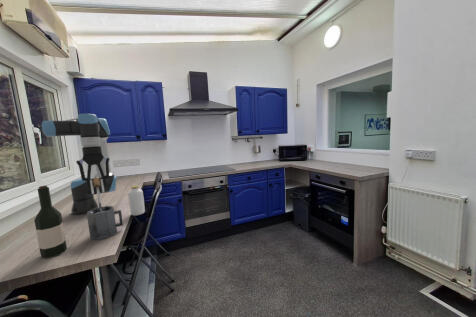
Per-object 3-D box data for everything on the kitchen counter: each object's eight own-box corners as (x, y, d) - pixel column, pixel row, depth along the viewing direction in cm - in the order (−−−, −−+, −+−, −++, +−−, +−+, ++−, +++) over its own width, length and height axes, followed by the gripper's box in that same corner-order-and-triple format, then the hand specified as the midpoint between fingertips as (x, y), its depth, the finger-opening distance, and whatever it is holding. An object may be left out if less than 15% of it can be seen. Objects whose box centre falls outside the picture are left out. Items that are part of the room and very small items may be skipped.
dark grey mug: (91, 233, 102) (87, 209, 100) (122, 225, 109) (119, 203, 108) (89, 242, 92) (85, 216, 91) (124, 233, 100) (120, 208, 98)
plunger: (93, 214, 100) (88, 178, 98) (109, 210, 104) (104, 176, 102) (92, 218, 94) (86, 180, 92) (109, 214, 98) (104, 177, 96)
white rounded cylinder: (139, 216, 122) (135, 188, 120) (127, 216, 123) (124, 188, 121) (147, 211, 130) (144, 185, 128) (137, 211, 131) (133, 185, 129)
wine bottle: (52, 248, 89) (41, 184, 86) (71, 246, 90) (61, 183, 86) (35, 259, 81) (22, 189, 77) (56, 257, 81) (44, 187, 78)
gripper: (68, 147, 87) (75, 198, 90) (111, 144, 96) (117, 190, 99) (70, 147, 94) (78, 194, 96) (111, 144, 103) (117, 188, 105)
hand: (98, 192), depth 98 cm, fingers closed on plunger, 4 cm apart
